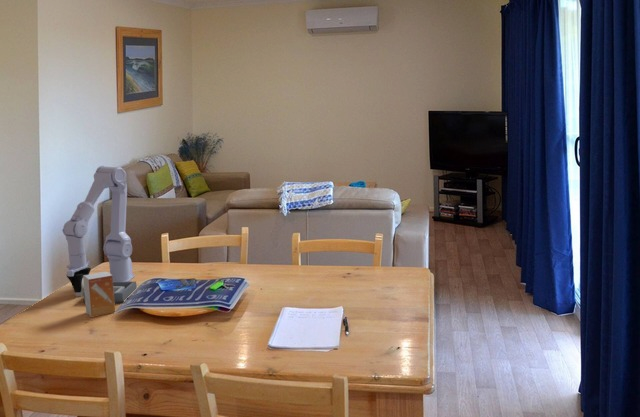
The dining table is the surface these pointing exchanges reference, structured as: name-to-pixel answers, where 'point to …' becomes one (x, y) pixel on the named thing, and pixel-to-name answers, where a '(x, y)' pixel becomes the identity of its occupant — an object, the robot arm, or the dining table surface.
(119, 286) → the walled box
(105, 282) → the small box
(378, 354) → the dining table surface
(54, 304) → the dining table surface
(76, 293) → the bottle
